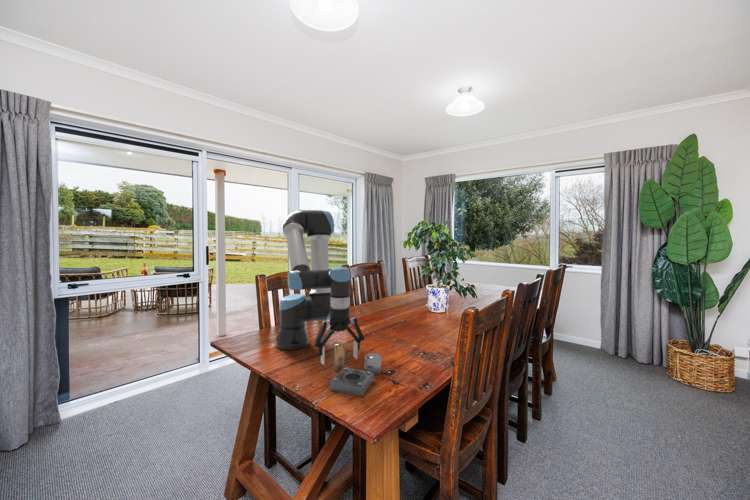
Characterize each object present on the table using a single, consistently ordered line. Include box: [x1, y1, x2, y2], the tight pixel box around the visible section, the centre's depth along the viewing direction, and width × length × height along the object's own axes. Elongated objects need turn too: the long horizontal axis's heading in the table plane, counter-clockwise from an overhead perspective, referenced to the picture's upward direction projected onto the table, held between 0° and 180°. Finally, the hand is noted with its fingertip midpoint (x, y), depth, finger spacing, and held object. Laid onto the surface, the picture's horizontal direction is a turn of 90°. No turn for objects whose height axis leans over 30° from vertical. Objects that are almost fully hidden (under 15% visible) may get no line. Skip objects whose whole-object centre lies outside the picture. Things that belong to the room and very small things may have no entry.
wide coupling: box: [363, 352, 382, 376], centre depth 125 cm, size 6×6×6 cm
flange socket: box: [329, 366, 375, 397], centre depth 114 cm, size 12×12×4 cm
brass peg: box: [333, 341, 346, 372], centre depth 127 cm, size 4×4×10 cm
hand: (339, 360), depth 126 cm, fingers open, 13 cm apart
